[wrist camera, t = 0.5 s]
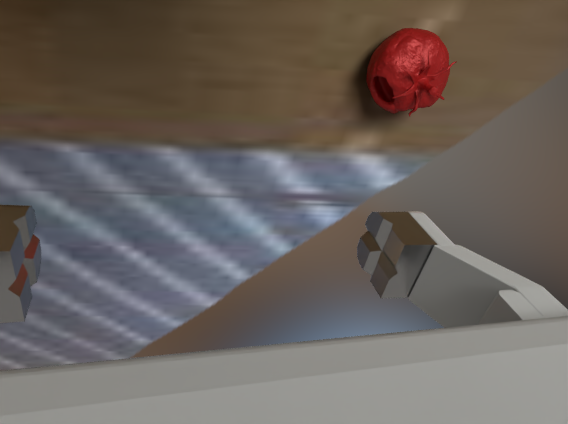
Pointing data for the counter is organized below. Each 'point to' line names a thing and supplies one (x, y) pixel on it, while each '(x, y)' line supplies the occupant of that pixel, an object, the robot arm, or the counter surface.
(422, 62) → the pomegranate
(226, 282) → the counter surface
